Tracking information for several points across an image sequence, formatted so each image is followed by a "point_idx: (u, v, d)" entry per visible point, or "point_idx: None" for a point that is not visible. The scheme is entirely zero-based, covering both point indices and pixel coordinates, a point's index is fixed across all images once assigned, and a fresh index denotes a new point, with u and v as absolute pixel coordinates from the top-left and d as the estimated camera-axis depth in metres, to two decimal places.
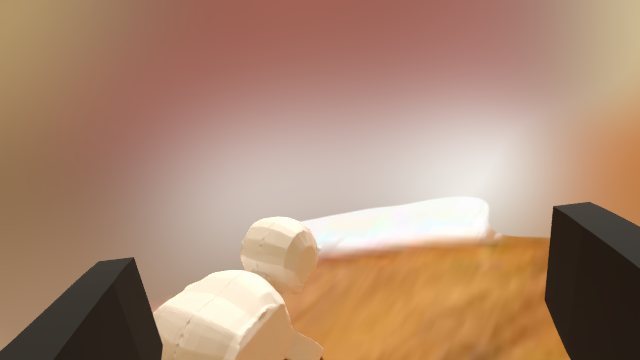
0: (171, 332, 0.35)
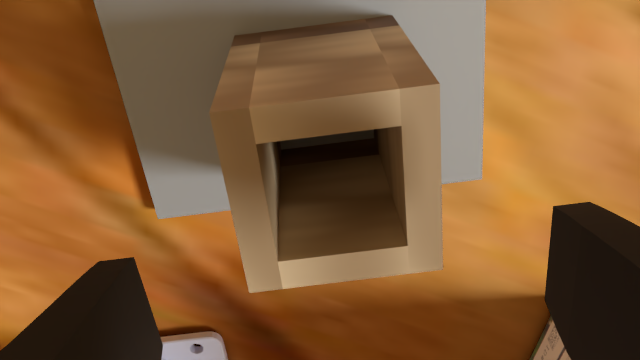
0: None
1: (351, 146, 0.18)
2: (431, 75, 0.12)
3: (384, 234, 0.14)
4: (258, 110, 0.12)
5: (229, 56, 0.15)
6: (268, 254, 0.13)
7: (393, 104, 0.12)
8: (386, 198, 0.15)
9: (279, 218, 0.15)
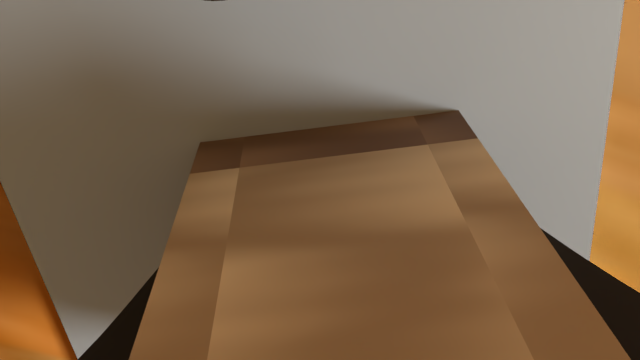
0: None
1: None
2: (603, 328, 0.05)
3: None
4: None
5: (183, 203, 0.08)
6: None
7: None
8: None
9: None
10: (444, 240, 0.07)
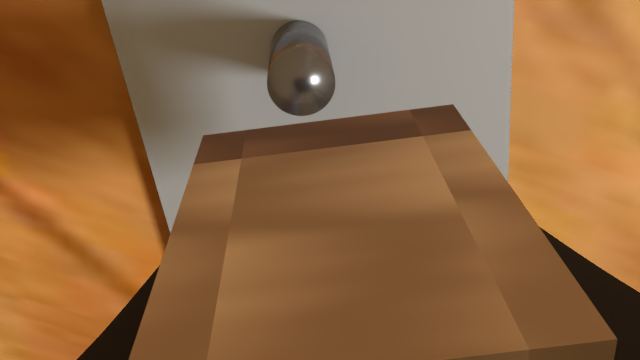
0: None
1: None
2: (585, 301, 0.06)
3: None
4: None
5: (187, 191, 0.09)
6: None
7: None
8: None
9: None
10: (437, 223, 0.07)
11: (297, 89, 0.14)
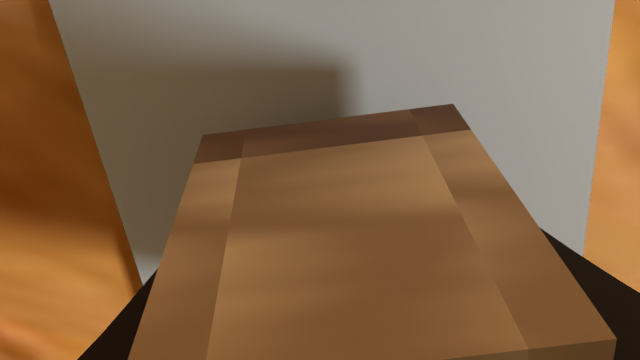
0: None
1: None
2: (584, 300, 0.06)
3: None
4: None
5: (186, 191, 0.09)
6: None
7: None
8: None
9: None
10: (436, 223, 0.07)
11: None
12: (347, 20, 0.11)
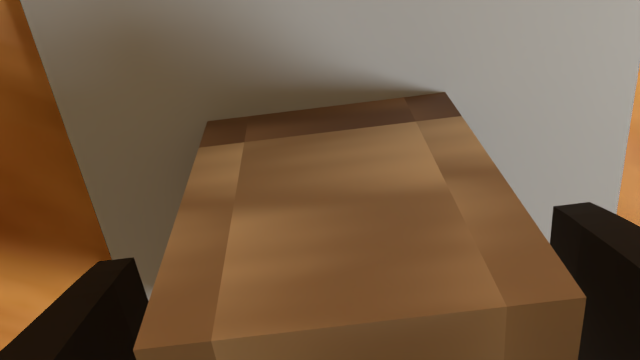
0: None
1: None
2: (559, 265, 0.06)
3: None
4: (229, 344, 0.06)
5: (193, 172, 0.09)
6: None
7: (491, 330, 0.06)
8: None
9: None
10: (427, 199, 0.08)
11: None
12: (353, 33, 0.10)
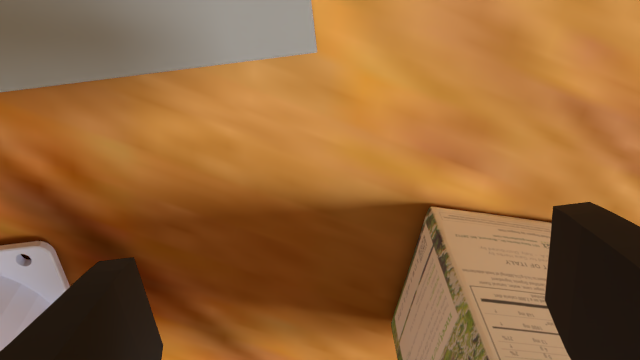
0: None
1: None
2: None
3: None
4: None
5: None
6: None
7: None
8: None
9: None
10: None
11: None
12: None
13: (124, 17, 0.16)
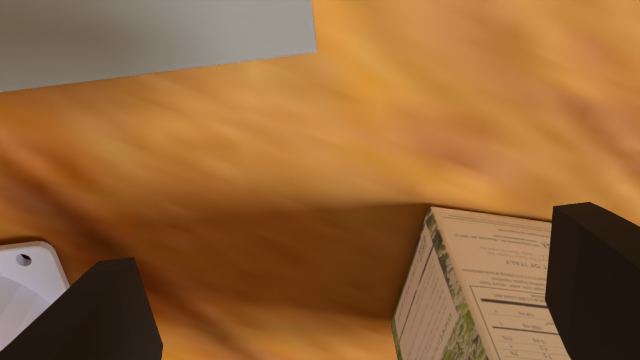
0: None
1: None
2: None
3: None
4: None
5: None
6: None
7: None
8: None
9: None
10: None
11: None
12: None
13: (124, 17, 0.16)
